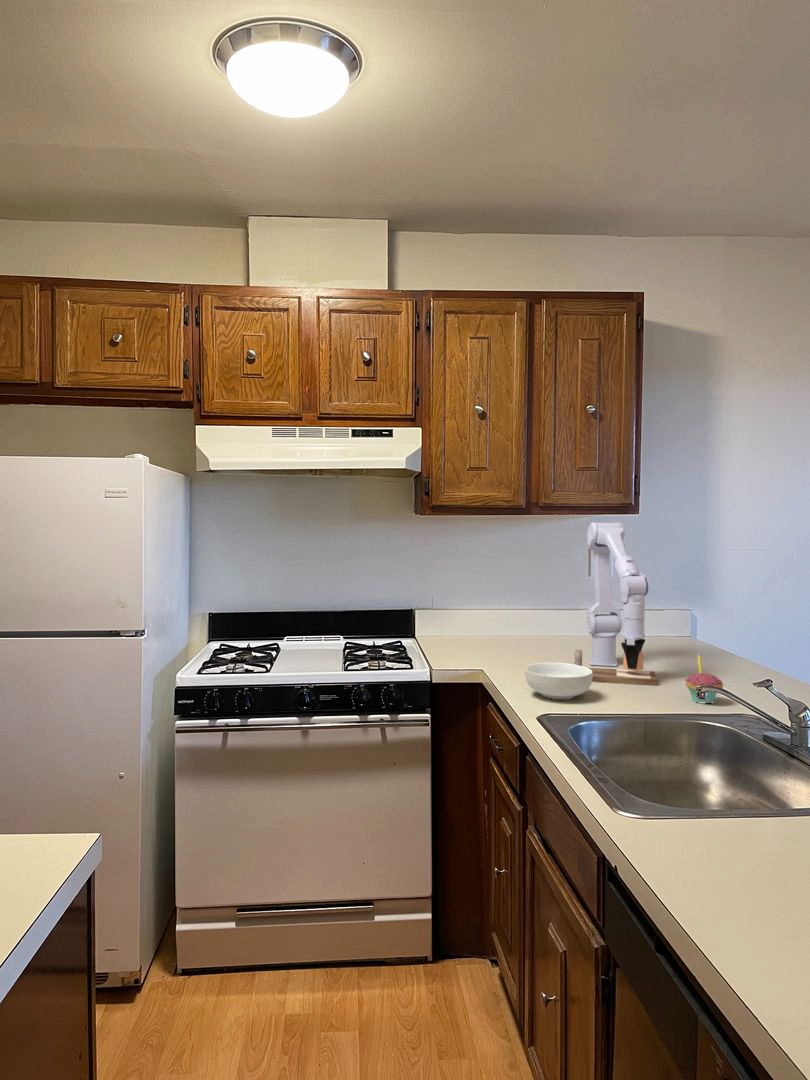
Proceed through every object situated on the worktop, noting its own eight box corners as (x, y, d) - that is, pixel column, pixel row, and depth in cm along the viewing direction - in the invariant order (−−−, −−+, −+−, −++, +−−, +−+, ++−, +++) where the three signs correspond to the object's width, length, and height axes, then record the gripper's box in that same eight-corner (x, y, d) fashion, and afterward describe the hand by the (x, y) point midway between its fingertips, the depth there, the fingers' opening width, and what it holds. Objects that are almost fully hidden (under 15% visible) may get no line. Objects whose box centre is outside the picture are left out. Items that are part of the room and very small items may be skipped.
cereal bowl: (543, 707, 173) (543, 678, 173) (514, 690, 189) (514, 664, 189) (605, 701, 178) (605, 673, 178) (571, 686, 194) (571, 660, 194)
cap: (624, 665, 205) (624, 649, 204) (643, 667, 203) (644, 651, 202) (622, 669, 200) (622, 652, 200) (642, 670, 198) (642, 654, 198)
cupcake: (677, 699, 180) (678, 651, 180) (704, 696, 183) (705, 649, 183) (703, 707, 172) (703, 658, 172) (730, 704, 175) (731, 655, 175)
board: (554, 671, 212) (554, 645, 212) (654, 676, 205) (654, 650, 205) (552, 679, 202) (552, 652, 202) (657, 685, 194) (657, 658, 194)
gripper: (622, 614, 209) (621, 660, 209) (615, 621, 196) (615, 670, 196) (647, 615, 206) (647, 662, 207) (642, 622, 193) (642, 672, 193)
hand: (633, 666), depth 201 cm, fingers closed on cap, 5 cm apart
